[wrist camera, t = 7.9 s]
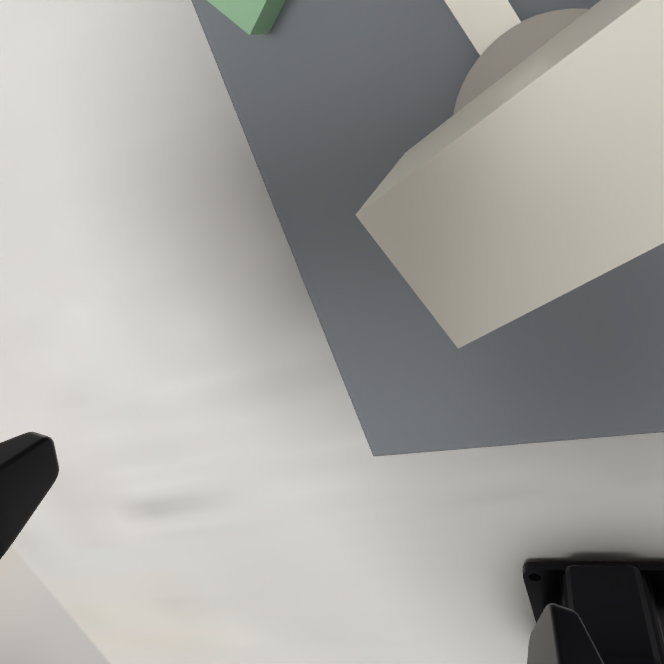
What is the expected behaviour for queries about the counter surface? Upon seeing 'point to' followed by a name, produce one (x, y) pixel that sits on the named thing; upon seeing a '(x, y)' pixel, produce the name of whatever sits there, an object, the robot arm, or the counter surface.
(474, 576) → the counter surface
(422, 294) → the tuning peg
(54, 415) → the counter surface
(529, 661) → the robot arm
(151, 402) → the counter surface
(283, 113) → the dial plate
